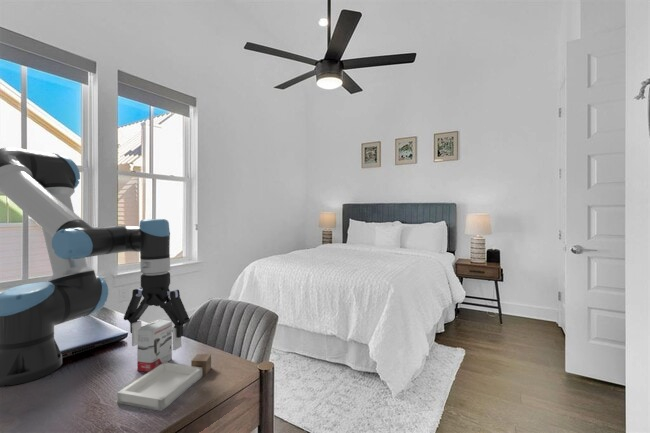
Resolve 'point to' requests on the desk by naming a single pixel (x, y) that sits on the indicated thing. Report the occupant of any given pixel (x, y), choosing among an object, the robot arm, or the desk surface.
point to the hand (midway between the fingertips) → (156, 346)
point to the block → (202, 362)
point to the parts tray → (160, 386)
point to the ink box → (154, 345)
